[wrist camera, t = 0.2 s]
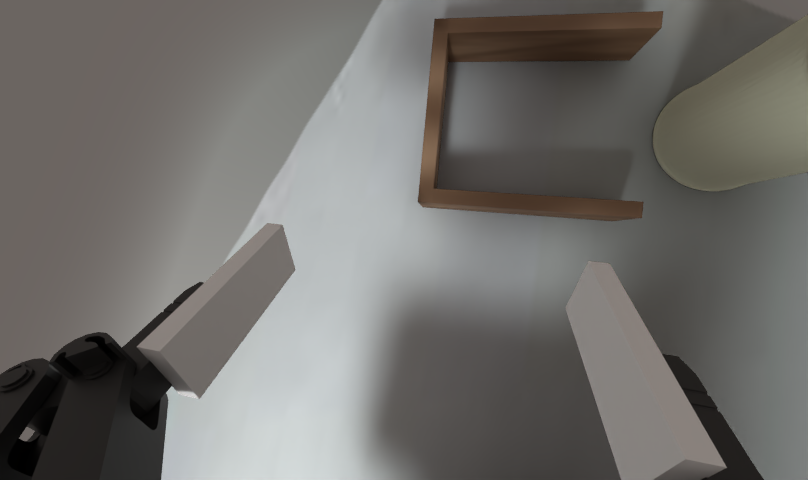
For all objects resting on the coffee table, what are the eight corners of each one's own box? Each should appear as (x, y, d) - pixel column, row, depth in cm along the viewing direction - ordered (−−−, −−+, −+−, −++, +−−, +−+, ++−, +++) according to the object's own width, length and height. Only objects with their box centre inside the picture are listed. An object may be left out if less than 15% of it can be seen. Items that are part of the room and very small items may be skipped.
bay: (613, 221, 26) (641, 217, 22) (422, 207, 29) (418, 201, 25) (630, 46, 26) (663, 11, 22) (437, 49, 28) (434, 19, 24)
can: (805, 146, 24) (1161, 51, 12) (697, 213, 25) (921, 189, 13) (728, 59, 24) (987, -110, 13) (628, 128, 26) (778, 33, 14)
